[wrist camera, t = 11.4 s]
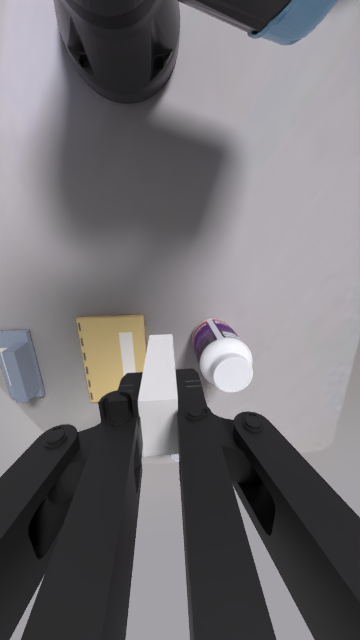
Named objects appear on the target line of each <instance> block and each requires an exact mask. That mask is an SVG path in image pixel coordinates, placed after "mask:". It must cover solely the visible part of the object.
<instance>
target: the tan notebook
mask: <svg viewBox="0 0 360 640" xmlns="http://www.w3.org/2000/svg"><path fill="white" fill-rule="evenodd" d="M76 322H77V328H78V333H79V339H80V345H81V350H82V356H83V361H84V367H85V373H86V378H87V384H88V389H89V395H90V401H91V402H99V400H100V399H101V398H102V397H103V396H104V395H106V394H107V393H110V392H112V391H116V390H118V387H119V384H120V381H121V379H122V378H123V377H124V376H125V375H126V374H127V373H135V372H143V369H144V363H145V358H146V352H147V351H146V338H145V325H144V315H119V316H94V317H78V318H77V319H76Z"/></svg>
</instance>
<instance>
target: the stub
mask: <svg viewBox="0 0 360 640" xmlns="http://www.w3.org/2000/svg"><path fill="white" fill-rule="evenodd" d="M0 364H1V367H2V371H3V374H4V377H5V380H6V383H7V386H8V390H9V393H10V396H11V399H14V398H15V399H16V402H29V400H30V399H31V398H32V397H43V396H44V394H45V391H44V388H43V384H42V380H41V376H40V372H39V368H38V364H37V360H36V356H35V352H34V348H33V344H32V340H31V336H30V332H29V330H10V331H0Z"/></svg>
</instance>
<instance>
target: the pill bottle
mask: <svg viewBox="0 0 360 640" xmlns="http://www.w3.org/2000/svg"><path fill="white" fill-rule="evenodd" d="M192 344H193V347H194V350H195V353H196V357H197V360H198V363H199V366H200V370H201V372H202V374H203V376H204V377H205V379H206V380H207V381H209V382H210V383H212V384H214V385H216V386H217V387H218V388H219V389H220V390H222V391H224V392H229V393H232V392H238V391H240V390H242V389H244V388H245V387H246V386H247V385H248V384H249V383H250V381H251V379H252V376H253V370H252V355H251V352H250V350H249V348H248V347H247V346H246V345H245V343H244V342H243V341H242V340H241V339H240V338H239V337H238V335H237V334H236V333H235V332H234V331H233V330H232V328H231V327H230V326H229V325H228V324H227V323H226V322H224V321H223V320H220V319H214V318H213V319H207V320H204V321H202V322H201V323H200V324H198V325H197V327H196V328H195V329H194V331H193V334H192Z"/></svg>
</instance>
